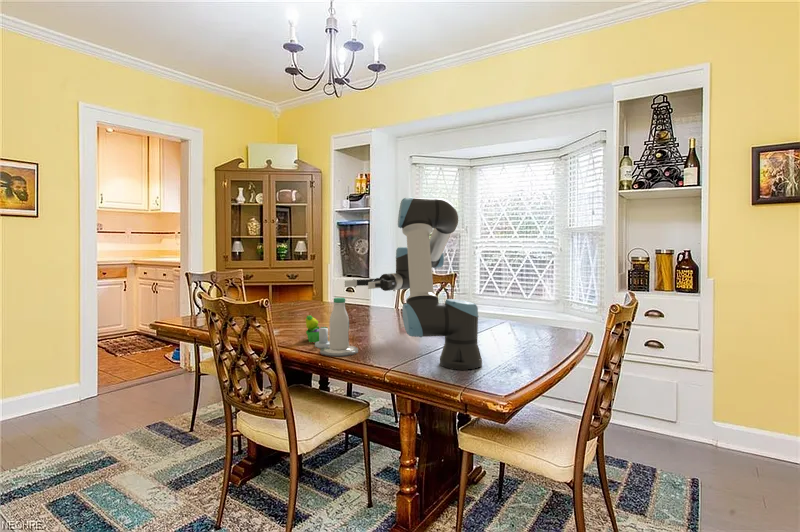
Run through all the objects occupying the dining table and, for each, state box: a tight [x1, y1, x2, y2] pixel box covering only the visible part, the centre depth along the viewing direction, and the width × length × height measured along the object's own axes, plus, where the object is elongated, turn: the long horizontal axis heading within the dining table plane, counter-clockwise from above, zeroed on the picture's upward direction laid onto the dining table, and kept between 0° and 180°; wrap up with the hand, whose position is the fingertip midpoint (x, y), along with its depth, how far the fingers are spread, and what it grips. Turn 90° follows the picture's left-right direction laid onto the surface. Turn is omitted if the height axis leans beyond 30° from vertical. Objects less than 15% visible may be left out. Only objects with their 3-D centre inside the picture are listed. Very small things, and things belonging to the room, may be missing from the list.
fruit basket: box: [305, 315, 328, 342], centre depth 200 cm, size 11×9×11 cm
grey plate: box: [319, 344, 359, 358], centre depth 180 cm, size 15×15×2 cm
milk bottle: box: [328, 297, 350, 350], centre depth 180 cm, size 8×8×20 cm
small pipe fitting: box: [314, 328, 329, 349], centre depth 189 cm, size 7×7×8 cm
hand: (356, 284), depth 187 cm, fingers open, 13 cm apart
